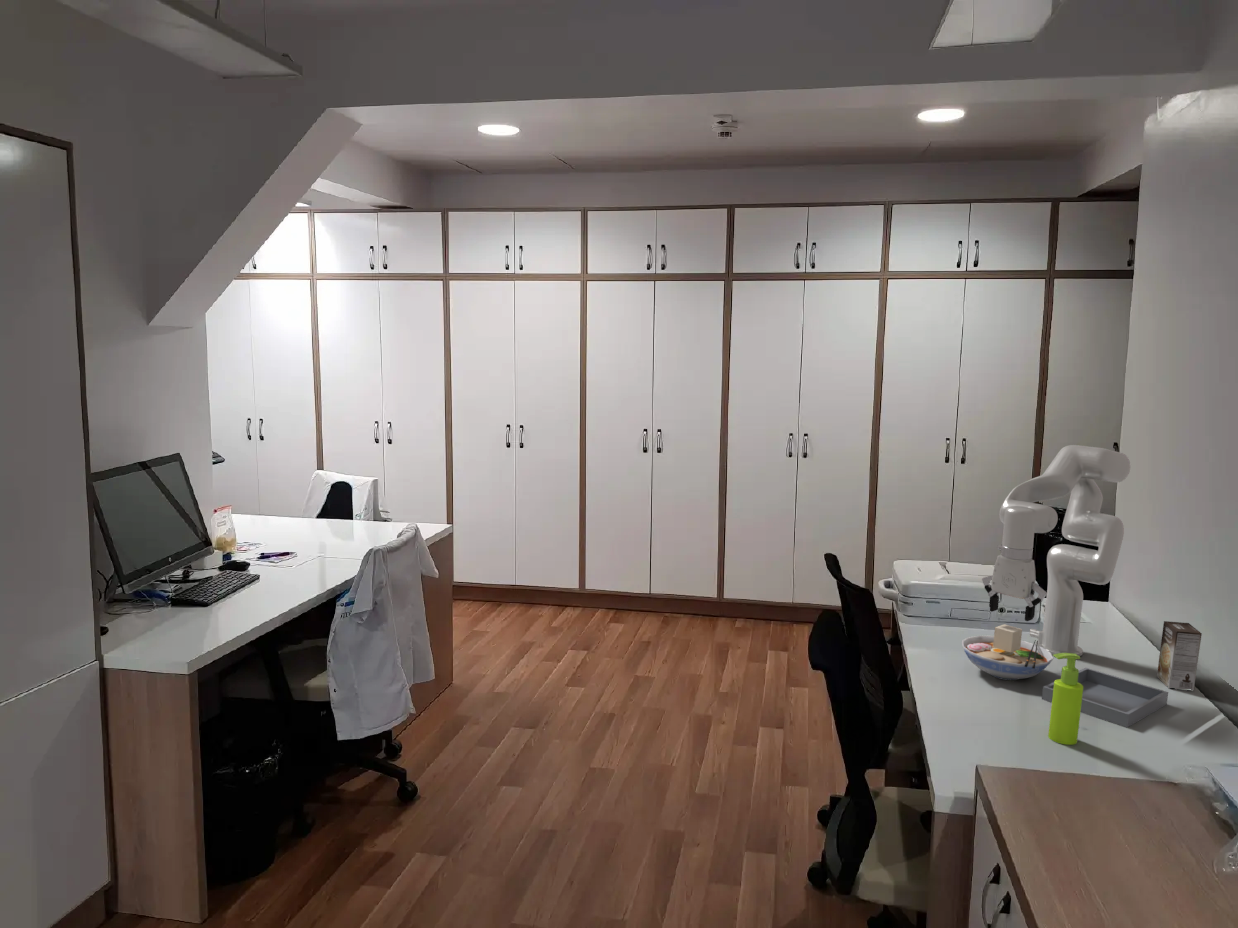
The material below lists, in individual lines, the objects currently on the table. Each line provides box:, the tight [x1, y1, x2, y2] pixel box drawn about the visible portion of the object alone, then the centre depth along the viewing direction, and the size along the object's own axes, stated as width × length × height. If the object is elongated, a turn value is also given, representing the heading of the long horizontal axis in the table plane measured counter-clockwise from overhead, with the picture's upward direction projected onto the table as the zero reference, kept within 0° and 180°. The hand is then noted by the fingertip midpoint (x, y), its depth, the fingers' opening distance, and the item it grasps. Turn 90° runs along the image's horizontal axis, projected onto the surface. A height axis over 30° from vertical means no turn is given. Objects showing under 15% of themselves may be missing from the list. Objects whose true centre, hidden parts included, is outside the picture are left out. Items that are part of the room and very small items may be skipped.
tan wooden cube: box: [993, 623, 1023, 652], centre depth 240 cm, size 5×5×6 cm
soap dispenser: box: [1047, 653, 1083, 746], centre depth 201 cm, size 6×7×20 cm
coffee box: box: [1156, 620, 1203, 690], centre depth 239 cm, size 9×6×16 cm
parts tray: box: [1041, 667, 1169, 729], centre depth 224 cm, size 20×24×4 cm
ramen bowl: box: [961, 635, 1054, 681], centre depth 241 cm, size 25×23×8 cm
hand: (1010, 615), depth 240 cm, fingers open, 9 cm apart
